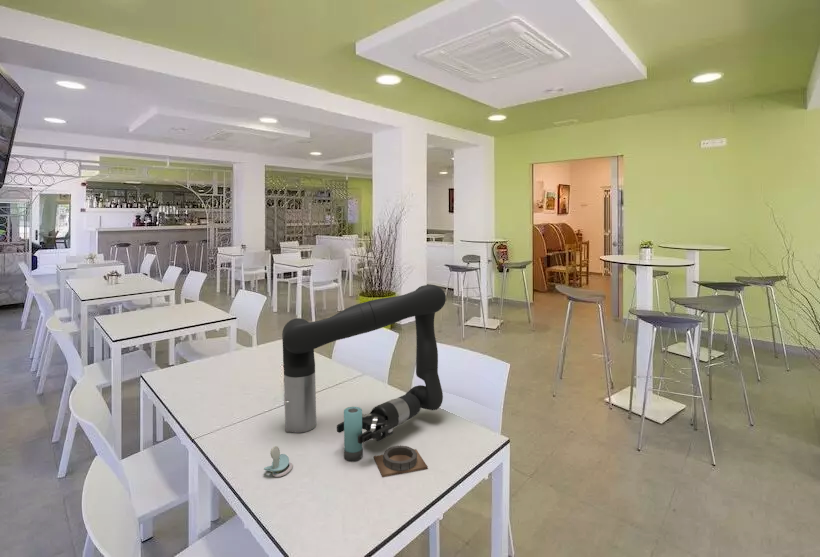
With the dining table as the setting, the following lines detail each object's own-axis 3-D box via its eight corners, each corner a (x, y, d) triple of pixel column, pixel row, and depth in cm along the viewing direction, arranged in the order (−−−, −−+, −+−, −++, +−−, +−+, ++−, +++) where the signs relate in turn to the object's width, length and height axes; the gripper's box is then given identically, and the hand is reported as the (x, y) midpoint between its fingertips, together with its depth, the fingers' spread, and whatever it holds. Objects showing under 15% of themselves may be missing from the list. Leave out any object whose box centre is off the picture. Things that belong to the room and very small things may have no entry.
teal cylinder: (345, 462, 114) (345, 415, 112) (342, 453, 119) (341, 407, 117) (364, 459, 115) (364, 413, 114) (360, 450, 120) (360, 405, 118)
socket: (382, 477, 108) (382, 467, 107) (373, 458, 116) (373, 449, 116) (427, 468, 112) (427, 459, 111) (416, 451, 120) (416, 442, 120)
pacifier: (297, 465, 113) (277, 461, 115) (297, 443, 112) (277, 438, 114) (282, 481, 106) (260, 476, 108) (281, 457, 105) (260, 453, 107)
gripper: (373, 395, 131) (330, 412, 119) (408, 409, 122) (366, 429, 109) (373, 419, 132) (331, 438, 120) (408, 434, 123) (366, 457, 110)
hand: (347, 434), depth 115 cm, fingers open, 8 cm apart
